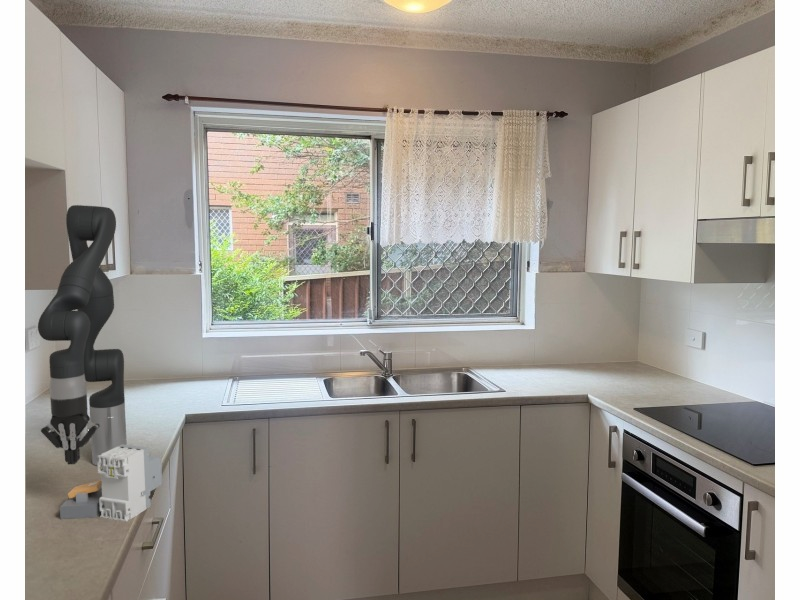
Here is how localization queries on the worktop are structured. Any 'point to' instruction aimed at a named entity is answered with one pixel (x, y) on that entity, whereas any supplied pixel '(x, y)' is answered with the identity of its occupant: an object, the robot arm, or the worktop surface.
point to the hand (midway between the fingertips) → (72, 463)
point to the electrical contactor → (127, 481)
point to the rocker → (85, 488)
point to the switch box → (82, 506)
